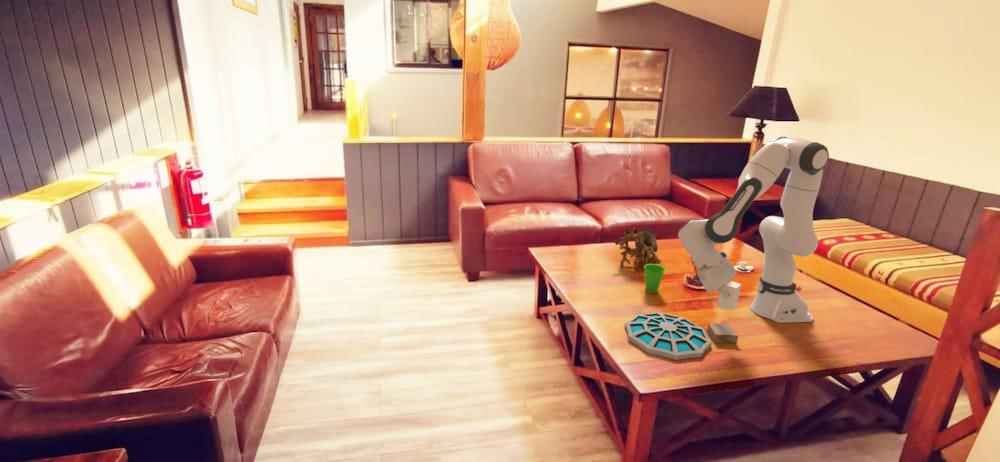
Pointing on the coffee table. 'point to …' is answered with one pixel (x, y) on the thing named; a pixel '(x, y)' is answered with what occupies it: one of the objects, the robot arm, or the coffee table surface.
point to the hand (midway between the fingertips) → (731, 294)
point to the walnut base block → (722, 333)
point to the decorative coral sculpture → (639, 246)
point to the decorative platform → (667, 336)
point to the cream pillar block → (734, 293)
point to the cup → (653, 276)
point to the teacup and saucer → (744, 267)
